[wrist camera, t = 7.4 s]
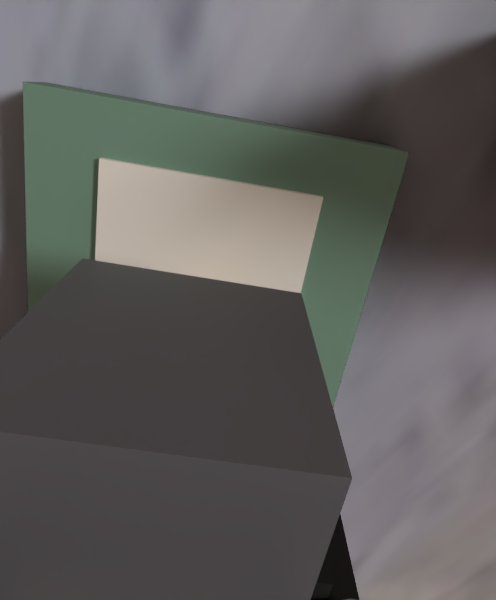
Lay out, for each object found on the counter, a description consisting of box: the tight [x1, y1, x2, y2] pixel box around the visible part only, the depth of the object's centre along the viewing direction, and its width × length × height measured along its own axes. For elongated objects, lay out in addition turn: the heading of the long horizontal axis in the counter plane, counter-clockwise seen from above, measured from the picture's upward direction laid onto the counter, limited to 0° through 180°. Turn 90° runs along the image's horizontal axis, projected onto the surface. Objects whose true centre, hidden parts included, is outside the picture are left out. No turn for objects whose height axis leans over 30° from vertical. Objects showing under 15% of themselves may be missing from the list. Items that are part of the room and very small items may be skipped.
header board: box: [23, 82, 409, 407], centre depth 14 cm, size 14×10×5 cm
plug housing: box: [0, 258, 352, 600], centre depth 9 cm, size 9×4×5 cm, turn 170°
